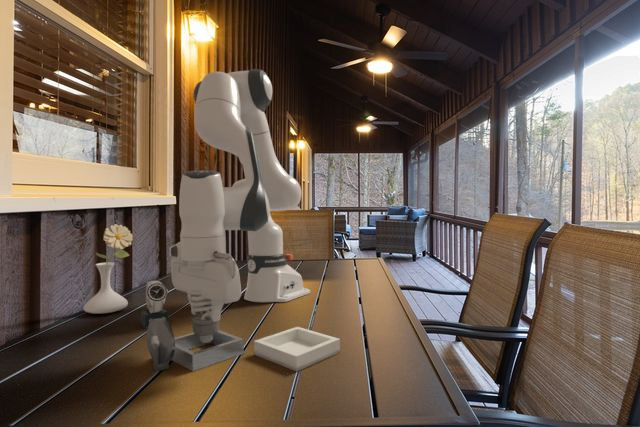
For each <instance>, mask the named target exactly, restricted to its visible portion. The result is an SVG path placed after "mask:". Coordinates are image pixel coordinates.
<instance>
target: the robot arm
mask: <svg viewBox="0 0 640 427" xmlns="http://www.w3.org/2000/svg"><path fill="white" fill-rule="evenodd" d="M193 100H194V103H195V104H194V105H195V106H194V115H193V116H194V117H193V118H194V120H193V122H194V129H195V131H196V133H197V135H198V136H199V138H200V139H201V140H202V141H203V142H205V143H206V144H207V145H209V146H210V147H213V148H215V149H217V150H221V151H225V152H228V153H229V154H232V155H234V156H236V157H238V160H239V162H240V164H241V165H242V167H243V173H244V174H243V175H244V178H243V179H239V180H237V181H235V182H234V183H233V184H232V186H231V187H229V186H228V187H227V186H226V187H223V186H224V185H223V181H222V176H221V173H220V172H219V171H216V170H212V169H197V170H190V171H186V172H185V173H184V174H182V175H181V176H182V177H181V179H180V180H181V181H180V185H179V186H180V188H179V204H178V205H179V206H178V207H179V209H178V210H179V217H180V221H181V230H180V233H179V234H180V235H179V237H180V241H179V242H177V243H175V244H174V245H171V246H169V248H168V249H169V250H168V253H169V254H168V255H169V257H170V258H171V261H170V271H171V272H170V274H171V283H172V285H173V288H174V289H175V290H177V291H180V292H183V293H187V299H188V302H189V305H190V308H191V314H192V315H194V316H199V315H203V314H204V313H203V312H204V311H201V312H194V311H192V308H193V307H198V306H192V305H191V303H192V302H194V301H193V300H191V297H193V296H202V297H204V298H207V299H206V300H208V299H211V305H213V306H212V309H210V310H209V311H210V312H209V320H211V321H214V322H215V321H219V322H220V320H221V317H222V316H221V311H222V309H223V308H224V305H226V304H230V303H231V304H232V303H234V302H238V301H239V300H240V299H241V297H242V286H241V278H240V277H241V276H240V270H239V266H238V265H237V262H236V260H235V259H234V257H233V256H232V255H231V254H230V253H227V240H226V239H227V238H226V231H240V230H241V231H243V232H244V231H245V232H247V244H248V254H247V256H246V257H247V258H246V259H247V260H246V262H247V266H246V267H247V271H248V272H247V274H248V275H247V282H246V288H245V293H244V296H243V299H244V300H246V301H247V302H248V301H249V302H252V303H253V302H254V303H286V302H289V301H292V300H295V299H298V298H301V297H303V296H306V295H309V294H311V290H310V289H309V288H307V287H304V281H303V278H302V275H301V274H300V273H299V272H298V271H297V270H296V269H294V268H293V267H291V266H290V265H289V264H288V261H292V260H293V259H294V257H293V254H291V253H286V254H285V253H284V240H283V239H284V238H283V237H284V232H283V230H282V228H281V226H279V224H277V223H276V222H275V221H274V219H273V218H272V215H271V212H284V211H289V210H292V209H294V208H296V207H298V205H299V204H300V202H301V201H302V200H301V199H302V195H303V194H302V187H301V185H300V183H299V182H298V180H297V179H296V178H294V177H293V176H291V175H290V174H288V173H287V172H286V170H285V169H284V168H283V166H282V164H280V161H279V160H278V158H277V156H276V152H275V150H274V145H273V140H272V136H271V131H270V128H269V124H268V119H267V115H266V113H265V111H266V109H267V107H269V105H270V104H271V102H272V100H273V85H272V81H271V80H270V78H269V76H268V74H267V73H266V72H265V71H264V70H263V69H258V68H257V69H256V68H252V69H249V70H238V71H232V72H227V73H226V72H223V71H211V72H208V73H207V74H206V75H205V76H204V77H203V78H202V79H201V80H200V81H199V82H197V83H196V85H195V87H194V89H193ZM192 291H201V295H192V294H191V293H192ZM198 301H200V300H198Z"/></svg>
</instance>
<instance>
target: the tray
mask: <svg viewBox="0 0 640 427" xmlns="http://www.w3.org/2000/svg"><path fill="white" fill-rule="evenodd" d="M340 353H341V339H340V338H338V337H335V336H331V335H327V334H324V333H320V332H317V331H314V330H311V329H307V328H303V327H301V326H295V327H292V328H289V329H286V330H283V331H280V332H277V333H275V334H270V335H268V336H264V337H262V338H259V339H255V340H253V355H254V356H256V357H259V358H261V359H264V360H267V361H270V363H275V364H277V365H279V366H282V367H284V368H287V369H288V370H292V371H295V372H299V371H301V370H303V369H306V368H308V367H310V366H312V365H315V364H318V363H320V362H321V361H325V360H326V359H328V358H331V357H333V356H335V355H338V354H340Z"/></svg>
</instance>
